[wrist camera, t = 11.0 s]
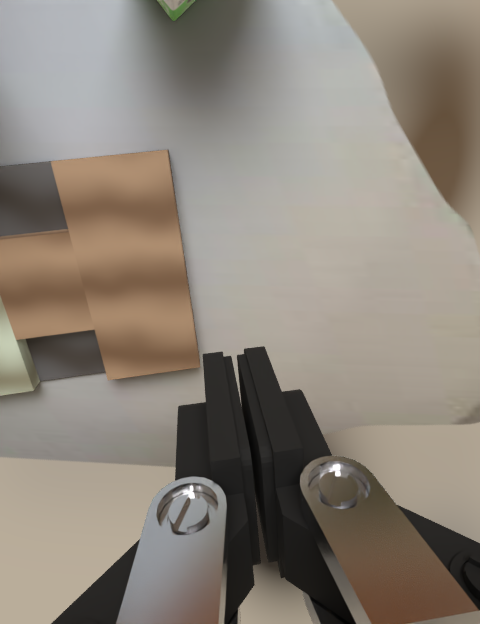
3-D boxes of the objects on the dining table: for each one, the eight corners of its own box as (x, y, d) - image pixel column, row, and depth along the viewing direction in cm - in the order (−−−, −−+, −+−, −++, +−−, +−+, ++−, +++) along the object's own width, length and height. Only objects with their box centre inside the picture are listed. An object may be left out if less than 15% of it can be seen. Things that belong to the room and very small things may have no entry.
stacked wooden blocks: (-150, 181, 31) (-182, 184, 29) (168, 149, 33) (166, 149, 30) (-53, 392, 39) (-71, 411, 36) (199, 357, 41) (200, 372, 38)
